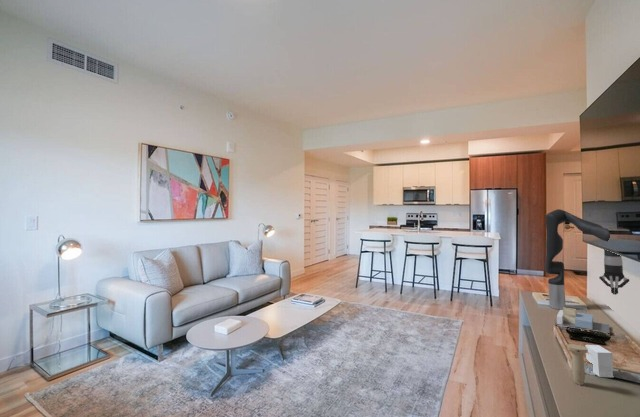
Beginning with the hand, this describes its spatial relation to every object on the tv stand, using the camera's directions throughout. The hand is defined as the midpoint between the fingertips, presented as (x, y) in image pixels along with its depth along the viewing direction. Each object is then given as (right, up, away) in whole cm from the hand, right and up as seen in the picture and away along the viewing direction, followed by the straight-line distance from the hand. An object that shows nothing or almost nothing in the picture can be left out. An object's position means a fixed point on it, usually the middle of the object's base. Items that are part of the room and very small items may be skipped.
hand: (614, 294), depth 172 cm
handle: (-61, -24, -48) cm, 81 cm away
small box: (-46, -23, -40) cm, 65 cm away
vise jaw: (-9, -21, +9) cm, 24 cm away
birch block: (-14, -21, +14) cm, 29 cm away
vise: (-10, -22, +10) cm, 27 cm away
